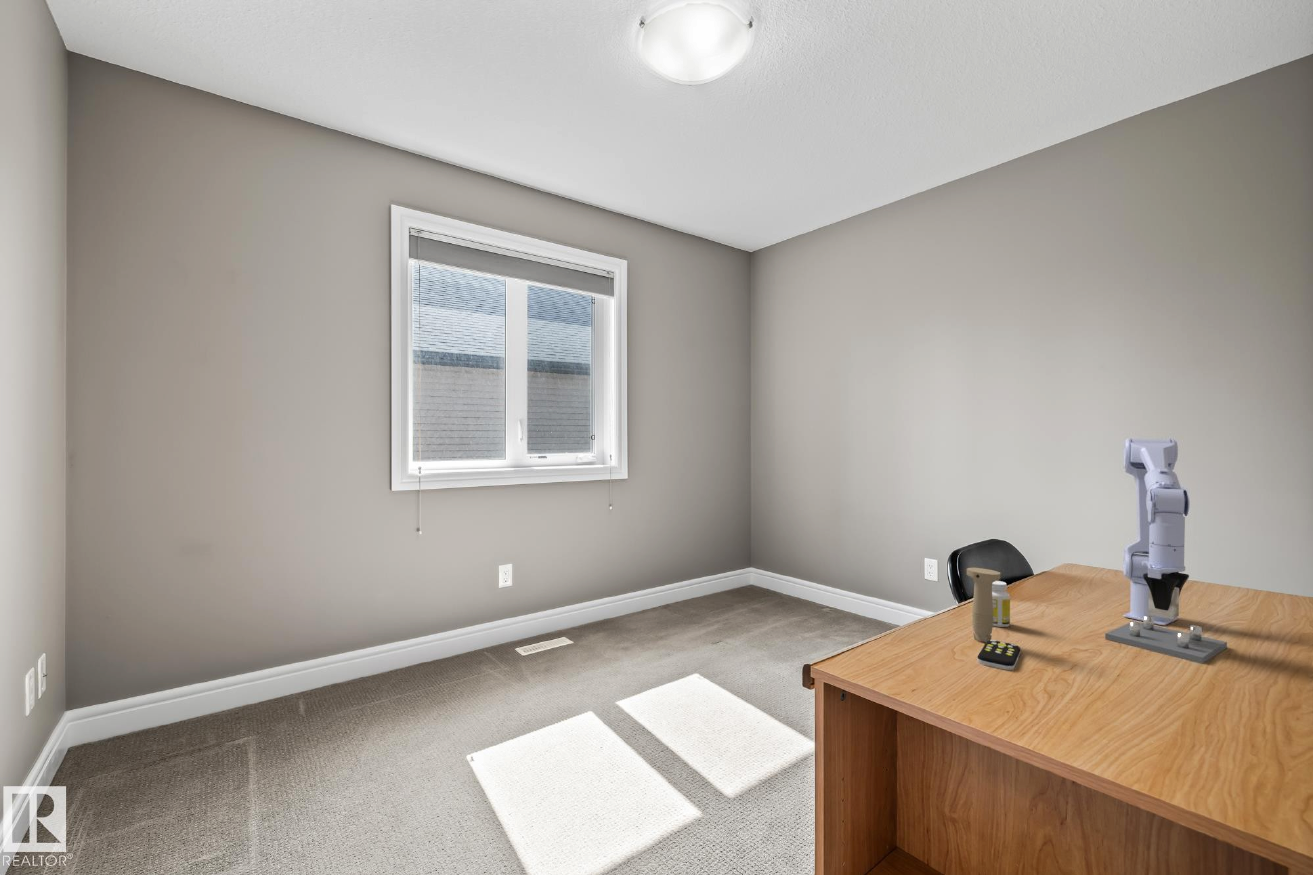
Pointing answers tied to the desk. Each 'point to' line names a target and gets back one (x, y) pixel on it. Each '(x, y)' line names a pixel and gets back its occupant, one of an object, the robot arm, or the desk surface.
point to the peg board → (1167, 640)
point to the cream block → (1173, 608)
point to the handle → (982, 602)
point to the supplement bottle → (1000, 604)
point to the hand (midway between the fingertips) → (1165, 607)
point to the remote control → (999, 655)
